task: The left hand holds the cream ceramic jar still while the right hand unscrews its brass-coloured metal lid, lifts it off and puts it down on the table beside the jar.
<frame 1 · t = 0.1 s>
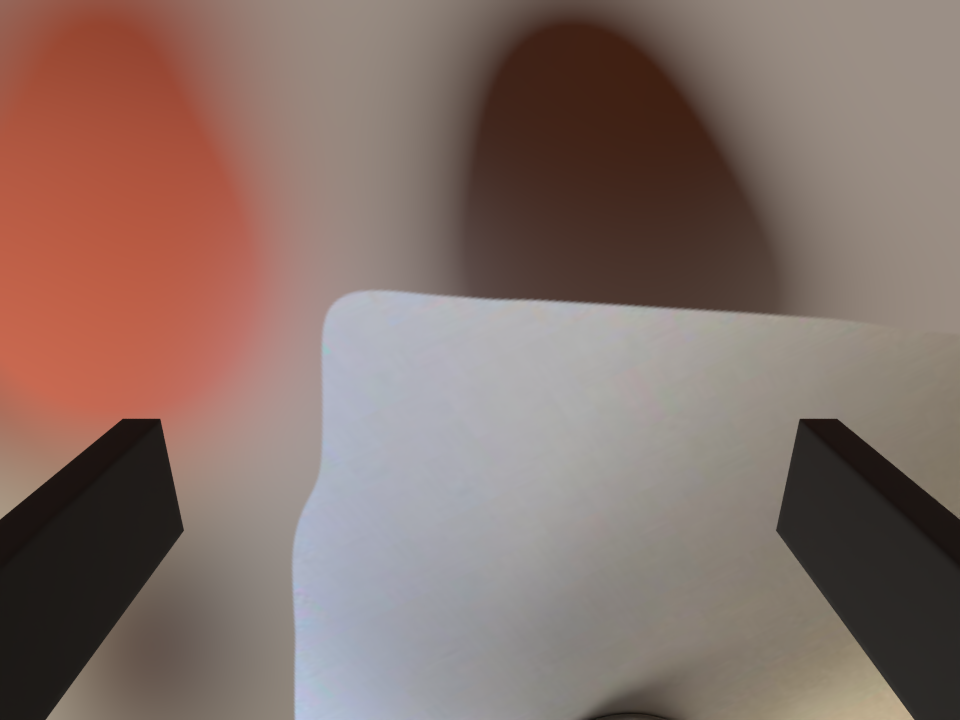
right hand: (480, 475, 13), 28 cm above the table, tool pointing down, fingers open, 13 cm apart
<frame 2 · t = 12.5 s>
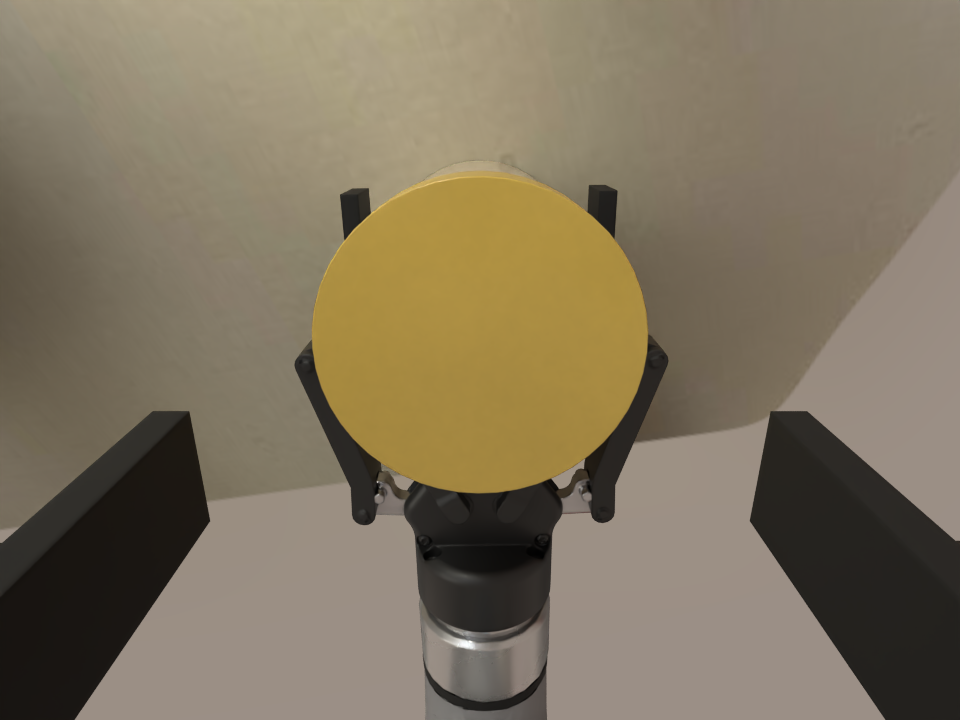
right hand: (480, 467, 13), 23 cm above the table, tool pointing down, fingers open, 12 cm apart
left hand: (478, 189, 27), fingers closed on jar, 10 cm apart
lid: (480, 347, 20), point 16 cm above the table, screwed on, not yet turned
jar: (480, 254, 35), on the table, touching left hand
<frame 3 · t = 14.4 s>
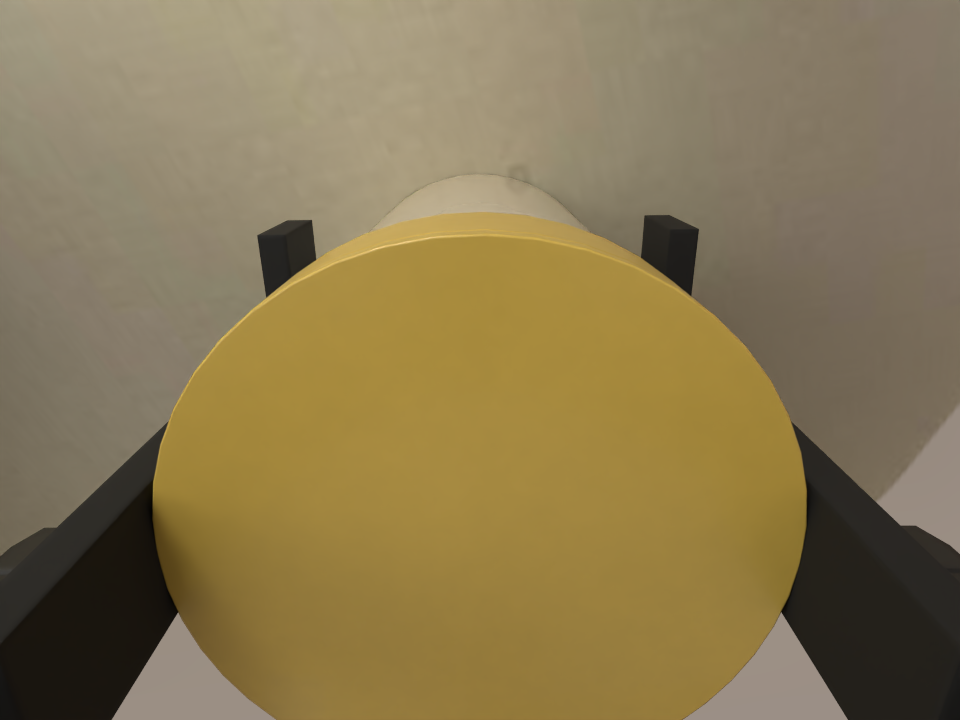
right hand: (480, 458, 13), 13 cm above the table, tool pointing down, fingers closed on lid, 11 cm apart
lid: (479, 545, 11), point 16 cm above the table, screwed on, not yet turned, touching right hand
jar: (479, 302, 25), on the table, touching left hand
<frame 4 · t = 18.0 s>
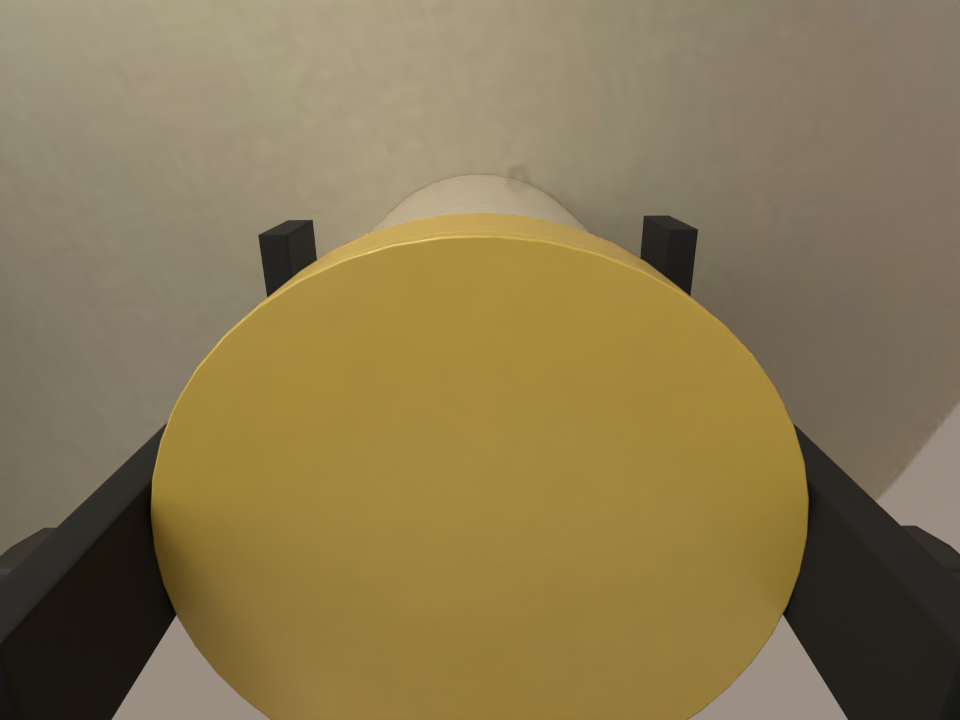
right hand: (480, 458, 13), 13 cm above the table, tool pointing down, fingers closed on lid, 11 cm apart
lid: (479, 547, 11), point 16 cm above the table, turned 111° so far, risen 0.1 cm, still on its thread, touching right hand
jar: (479, 302, 25), on the table, touching left hand
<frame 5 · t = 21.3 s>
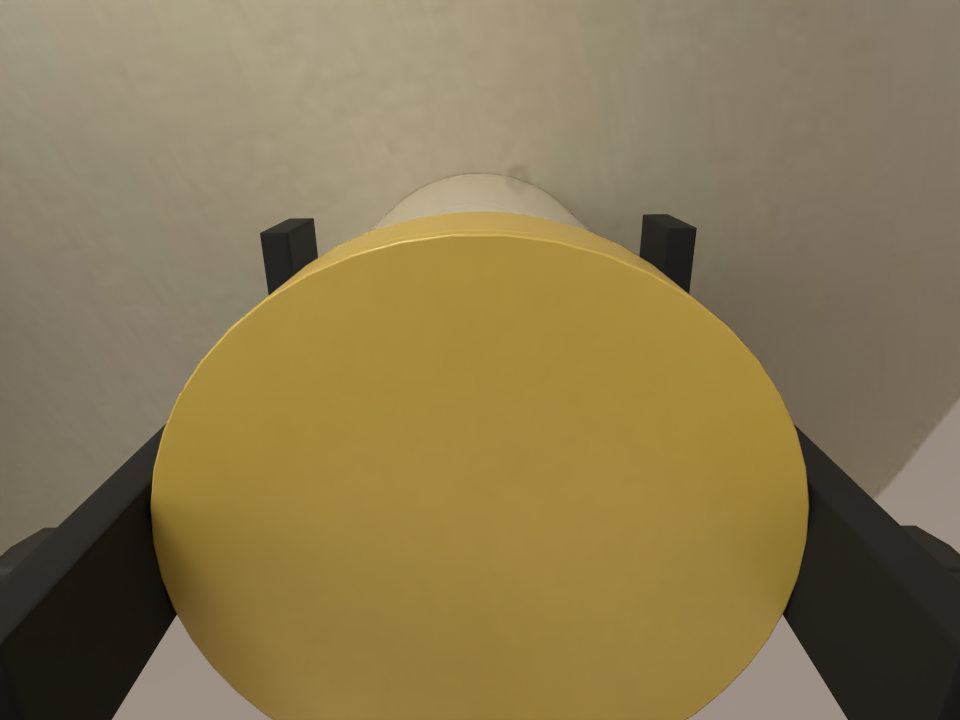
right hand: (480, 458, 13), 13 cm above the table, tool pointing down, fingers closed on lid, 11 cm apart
lid: (479, 546, 11), point 16 cm above the table, turned 222° so far, risen 0.2 cm, still on its thread, touching right hand
jar: (479, 300, 25), on the table, touching left hand
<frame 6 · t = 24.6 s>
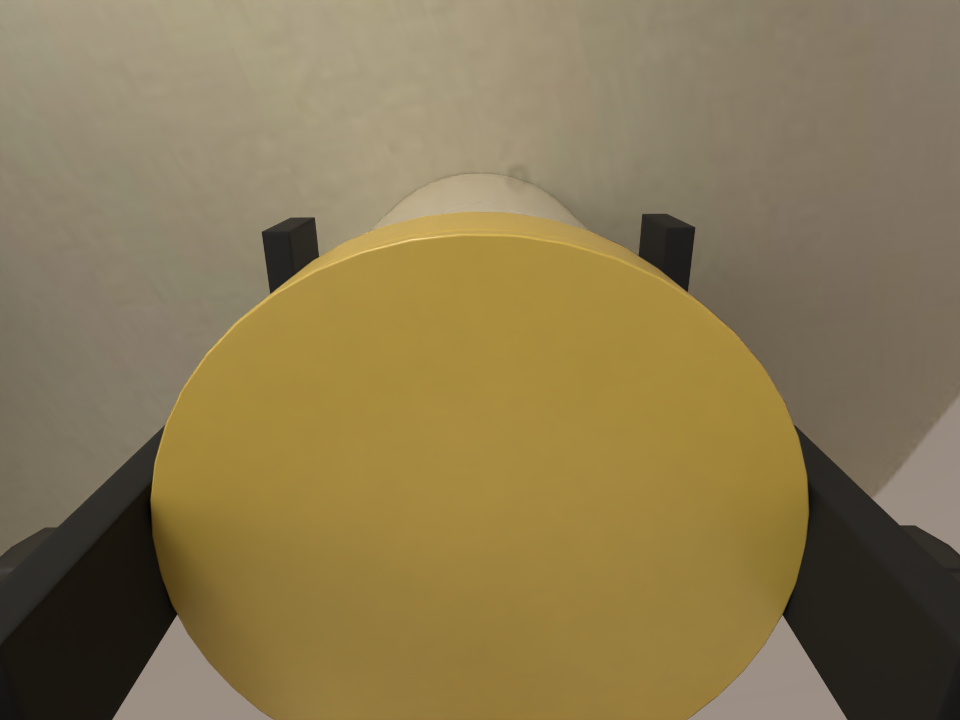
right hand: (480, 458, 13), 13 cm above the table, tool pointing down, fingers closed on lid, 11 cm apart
lid: (479, 546, 11), point 16 cm above the table, turned 333° so far, risen 0.4 cm, still on its thread, touching right hand
jar: (479, 299, 26), on the table, touching left hand
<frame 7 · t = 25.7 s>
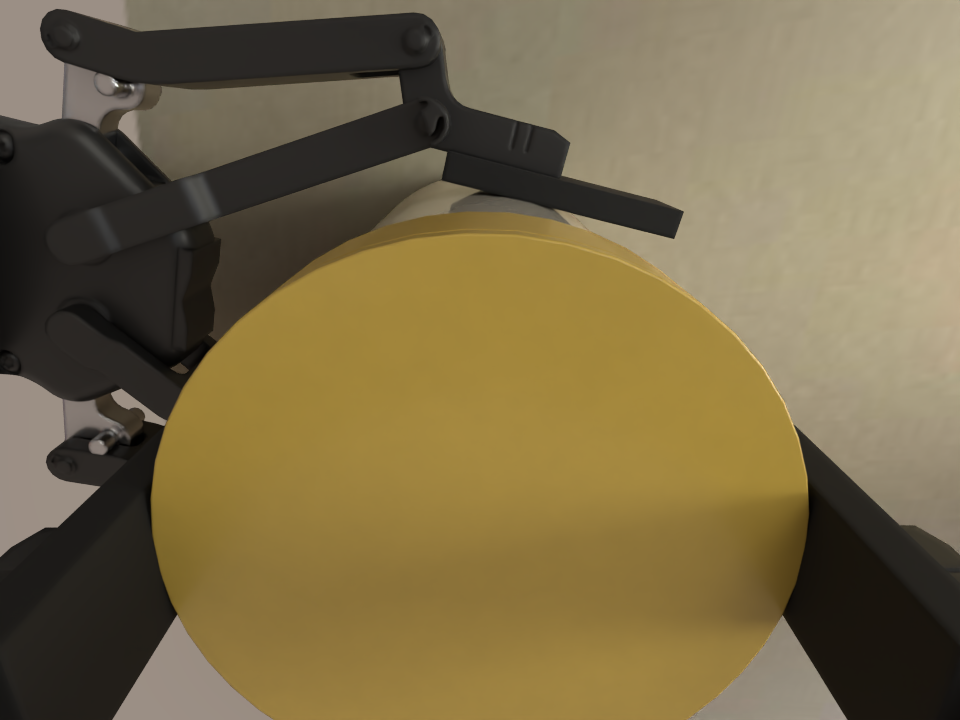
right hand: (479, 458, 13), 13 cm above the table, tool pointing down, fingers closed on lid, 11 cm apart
left hand: (607, 385, 20), fingers closed on jar, 10 cm apart
lid: (479, 546, 11), point 16 cm above the table, off its thread, touching right hand
jar: (480, 299, 26), on the table, touching left hand
when the right hand's fingers open (0 cm above the table, at t = 31.0 s): lid drops 1 cm, point 2 cm above the table.
when the left hand's fingers open (7 cm above the table, at t = 32.1 s): jar stays where it is, on the table.
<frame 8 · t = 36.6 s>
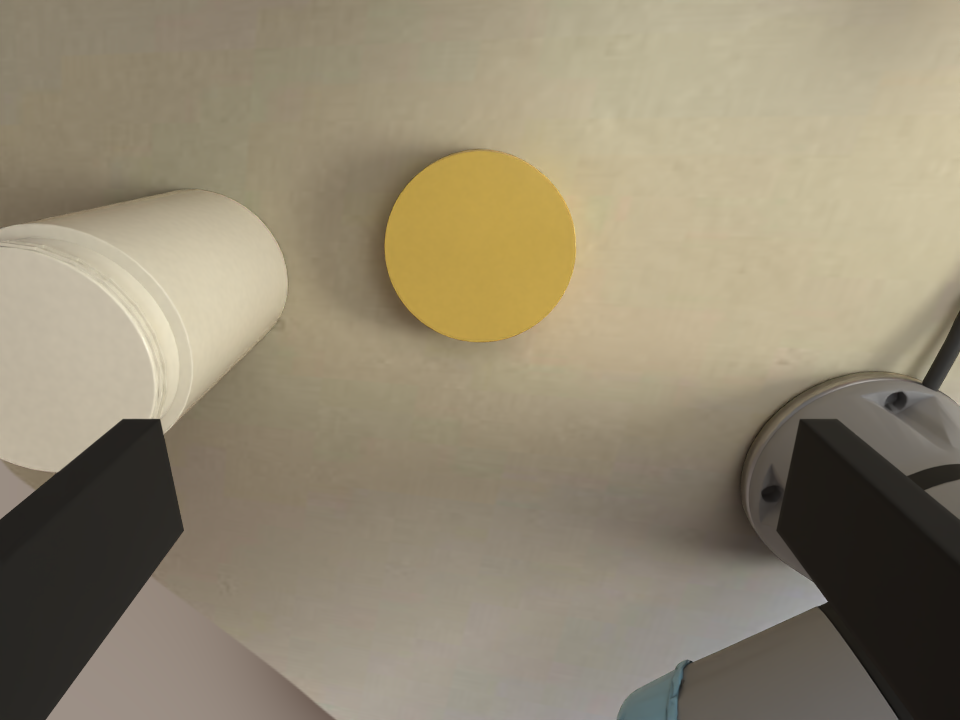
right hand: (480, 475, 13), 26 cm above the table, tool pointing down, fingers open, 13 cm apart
lid: (480, 250, 35), point 2 cm above the table, off its thread
jar: (205, 274, 38), on the table
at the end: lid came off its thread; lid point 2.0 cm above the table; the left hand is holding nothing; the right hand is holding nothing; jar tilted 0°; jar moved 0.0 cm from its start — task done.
